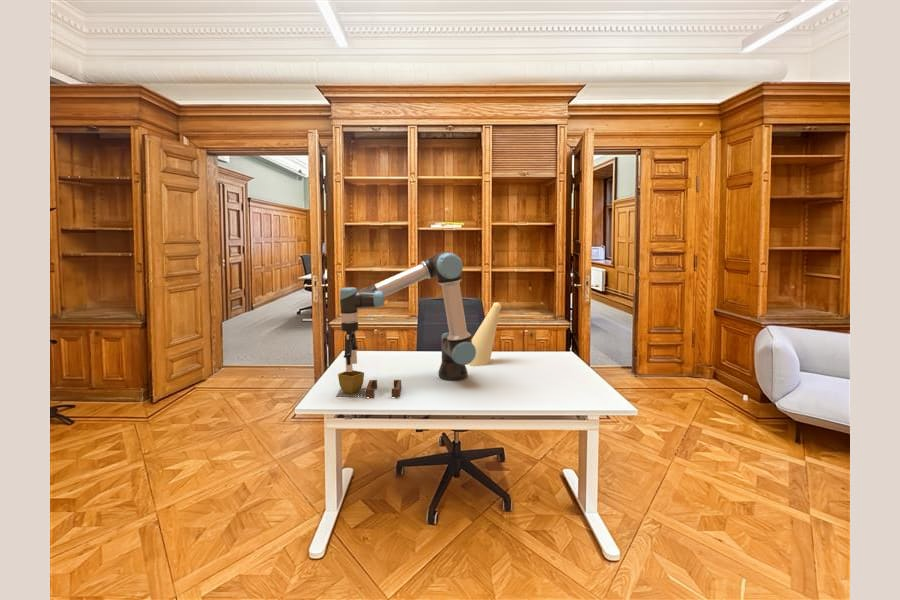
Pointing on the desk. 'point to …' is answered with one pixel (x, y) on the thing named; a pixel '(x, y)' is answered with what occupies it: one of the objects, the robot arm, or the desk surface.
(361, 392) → the slate mat
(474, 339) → the cone light
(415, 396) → the desk surface
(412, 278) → the robot arm
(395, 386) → the pair of brown brackets
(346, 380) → the flower pot
